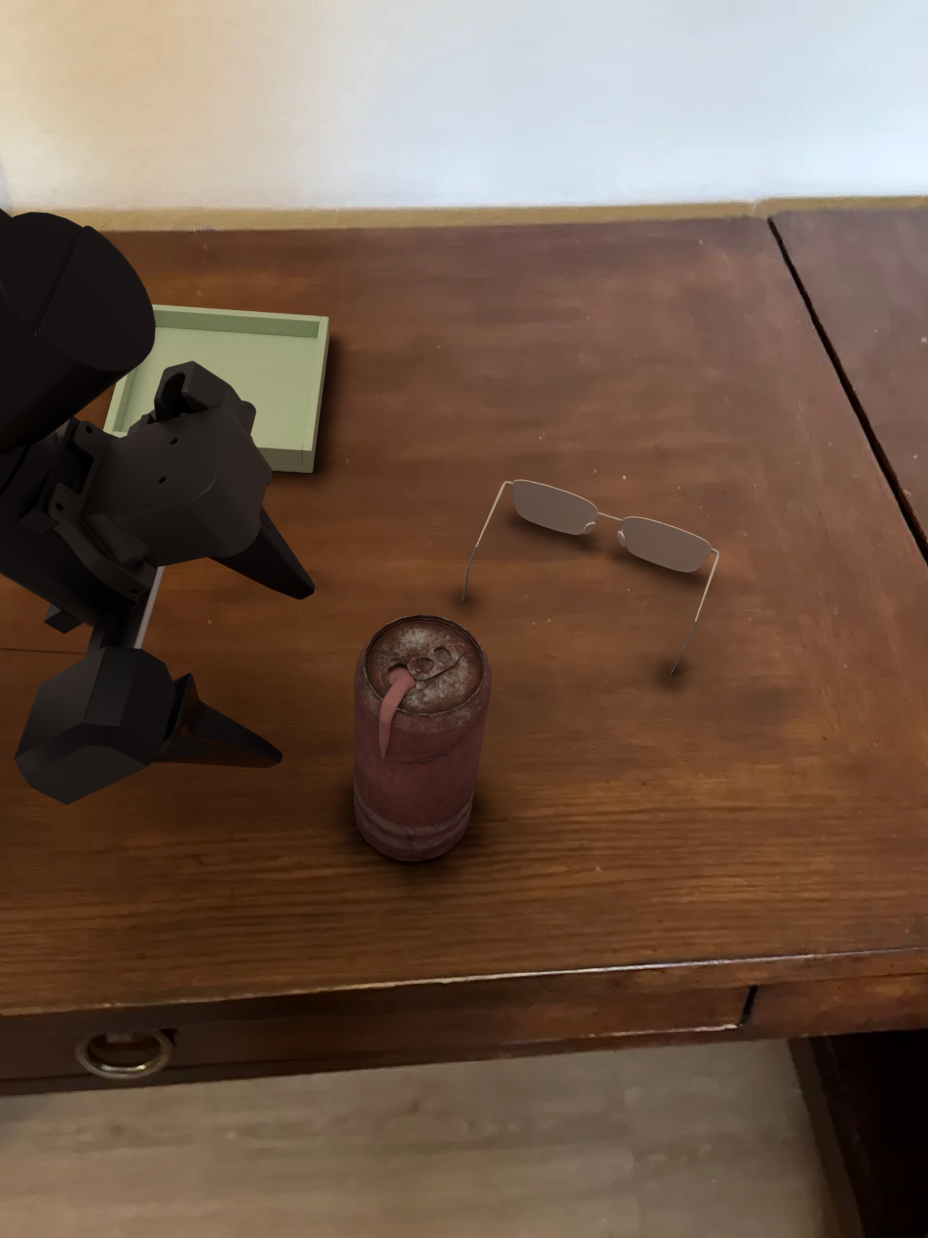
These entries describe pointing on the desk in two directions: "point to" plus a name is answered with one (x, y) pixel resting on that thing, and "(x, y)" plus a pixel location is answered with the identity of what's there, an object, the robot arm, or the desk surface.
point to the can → (418, 735)
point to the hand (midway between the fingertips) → (293, 673)
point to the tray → (240, 373)
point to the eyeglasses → (636, 532)
